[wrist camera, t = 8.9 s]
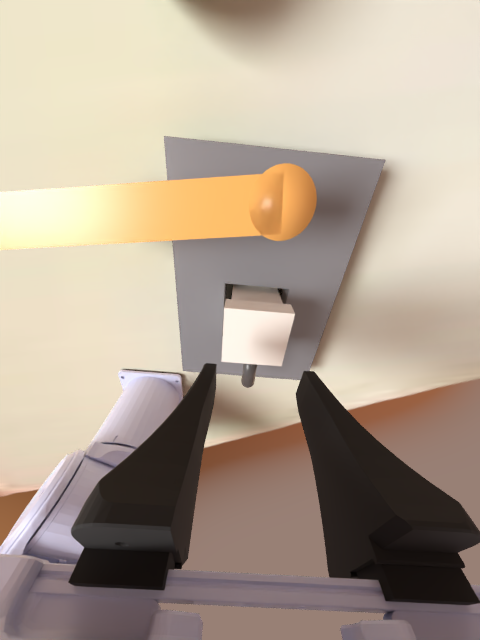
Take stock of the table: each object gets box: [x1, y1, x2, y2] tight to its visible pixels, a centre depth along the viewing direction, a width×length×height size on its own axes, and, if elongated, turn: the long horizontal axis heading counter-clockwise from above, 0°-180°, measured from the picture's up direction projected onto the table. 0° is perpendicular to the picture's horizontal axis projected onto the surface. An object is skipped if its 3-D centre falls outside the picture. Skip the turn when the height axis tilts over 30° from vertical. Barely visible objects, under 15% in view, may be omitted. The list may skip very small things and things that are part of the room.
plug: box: [221, 284, 295, 388], centre depth 19 cm, size 8×5×6 cm, turn 175°
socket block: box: [164, 136, 385, 380], centre depth 17 cm, size 20×14×7 cm
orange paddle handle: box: [0, 163, 317, 250], centre depth 10 cm, size 16×3×2 cm, turn 93°
